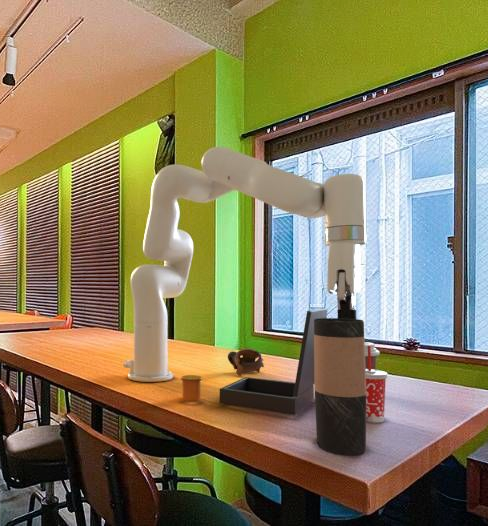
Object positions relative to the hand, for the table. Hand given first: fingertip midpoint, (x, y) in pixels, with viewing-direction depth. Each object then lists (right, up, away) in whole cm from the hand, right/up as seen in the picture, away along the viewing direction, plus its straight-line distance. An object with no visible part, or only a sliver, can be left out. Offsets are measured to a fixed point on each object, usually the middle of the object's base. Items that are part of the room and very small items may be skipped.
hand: (347, 329), depth 86 cm
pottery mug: (-12, -20, +42) cm, 48 cm away
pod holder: (-14, -17, +8) cm, 23 cm away
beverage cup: (+4, -17, -2) cm, 18 cm away
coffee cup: (+11, -18, +18) cm, 28 cm away
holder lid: (-6, -4, +4) cm, 9 cm away
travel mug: (-8, -16, -17) cm, 25 cm away
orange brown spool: (-30, -17, +9) cm, 36 cm away
